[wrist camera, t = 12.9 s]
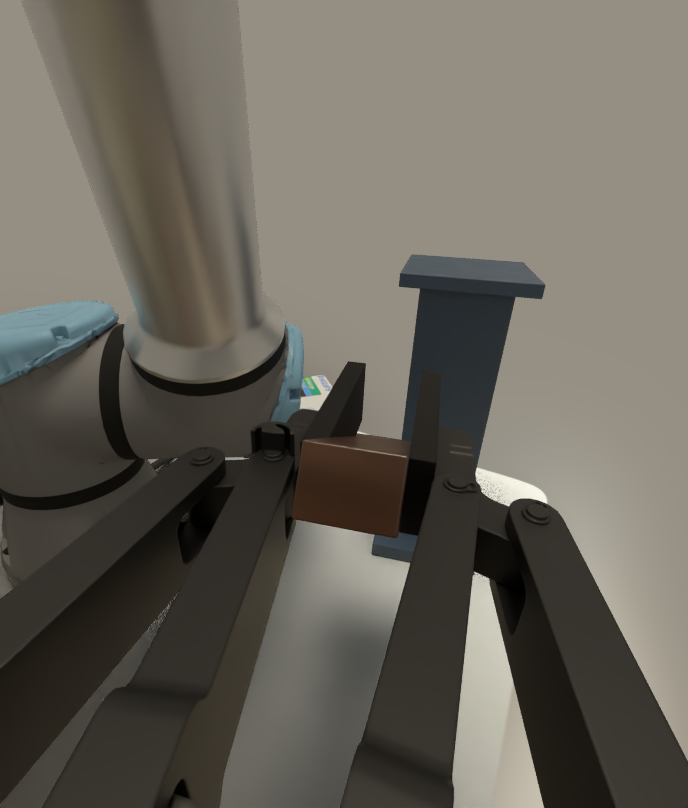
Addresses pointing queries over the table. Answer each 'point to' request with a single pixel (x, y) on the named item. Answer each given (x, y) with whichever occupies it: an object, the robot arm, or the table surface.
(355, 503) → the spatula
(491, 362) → the stand
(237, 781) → the table surface
